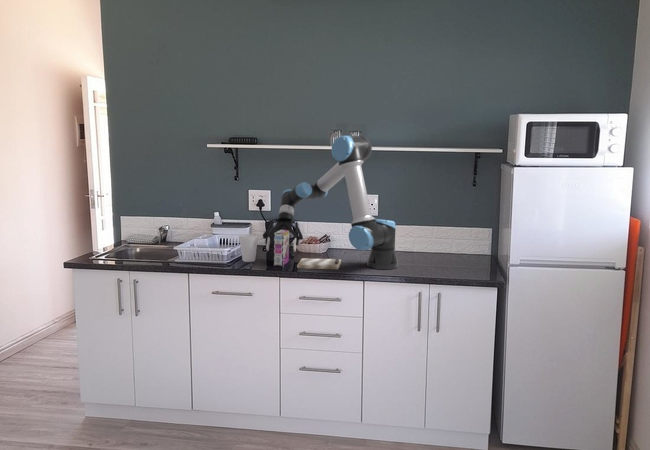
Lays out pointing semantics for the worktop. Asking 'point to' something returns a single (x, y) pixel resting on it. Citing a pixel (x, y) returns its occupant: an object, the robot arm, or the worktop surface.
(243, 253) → the foam cup
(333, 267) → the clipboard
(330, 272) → the worktop surface
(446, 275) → the worktop surface
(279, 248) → the candy bar box
